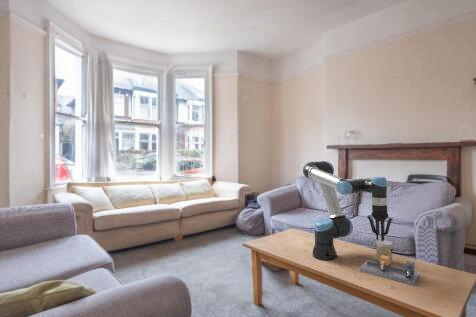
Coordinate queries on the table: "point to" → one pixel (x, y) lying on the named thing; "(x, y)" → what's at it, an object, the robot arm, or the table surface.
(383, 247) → the coffee cup
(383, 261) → the block
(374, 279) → the table surface
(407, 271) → the plate
